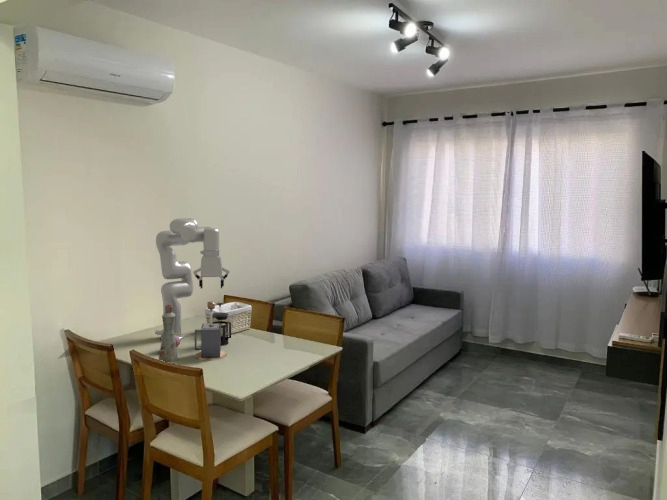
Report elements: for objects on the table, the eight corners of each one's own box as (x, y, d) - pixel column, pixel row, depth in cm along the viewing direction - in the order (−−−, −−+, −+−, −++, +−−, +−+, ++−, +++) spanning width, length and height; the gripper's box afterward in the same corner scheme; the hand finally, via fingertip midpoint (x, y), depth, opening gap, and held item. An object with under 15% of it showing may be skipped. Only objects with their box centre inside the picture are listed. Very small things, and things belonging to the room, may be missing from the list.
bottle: (167, 365, 241) (167, 307, 237) (154, 361, 245) (154, 304, 242) (181, 360, 248) (181, 304, 245) (169, 356, 253) (168, 301, 249)
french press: (215, 349, 266) (215, 306, 263) (206, 344, 273) (206, 302, 270) (234, 344, 274) (235, 303, 271) (226, 340, 281) (226, 300, 278)
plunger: (204, 342, 249) (204, 303, 247) (205, 338, 256) (205, 300, 253) (217, 341, 251) (217, 303, 248) (218, 338, 257) (218, 300, 254)
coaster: (193, 362, 245) (193, 360, 245) (196, 351, 261) (196, 350, 260) (226, 361, 248) (226, 359, 248) (227, 351, 263) (227, 349, 263)
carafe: (194, 358, 248) (193, 328, 246) (195, 352, 257) (195, 323, 255) (219, 357, 250) (220, 328, 249) (220, 351, 259) (220, 323, 257)
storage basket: (221, 337, 286) (221, 312, 284) (203, 332, 296) (203, 307, 294) (252, 329, 305) (253, 305, 303) (235, 324, 315) (235, 301, 313)
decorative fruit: (175, 347, 267) (175, 328, 266) (182, 350, 262) (182, 332, 260) (158, 350, 261) (158, 331, 260) (165, 354, 255) (165, 335, 254)
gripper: (192, 254, 242) (192, 289, 244) (229, 254, 246) (229, 289, 247) (193, 252, 250) (194, 286, 252) (229, 252, 253) (229, 286, 255)
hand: (211, 287), depth 250 cm, fingers open, 9 cm apart
